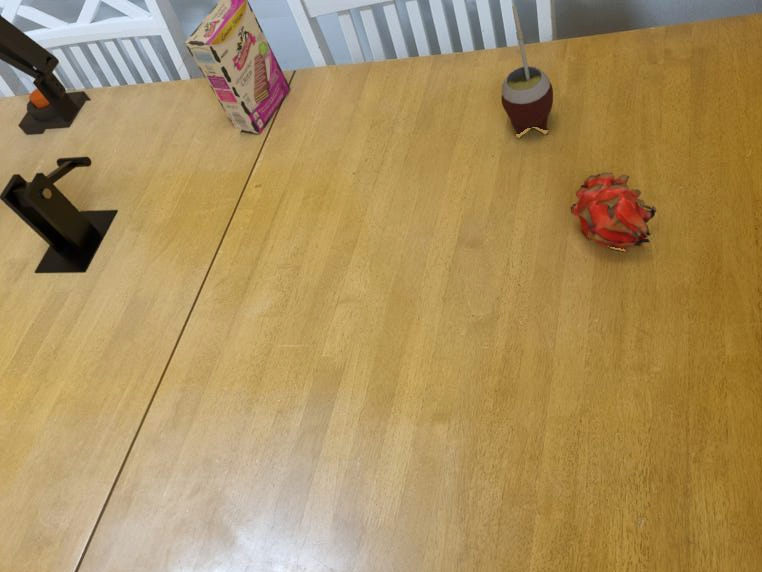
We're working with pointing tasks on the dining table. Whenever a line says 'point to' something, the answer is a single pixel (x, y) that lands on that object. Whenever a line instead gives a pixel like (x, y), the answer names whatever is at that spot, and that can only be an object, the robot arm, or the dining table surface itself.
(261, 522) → the dining table surface
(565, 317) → the dining table surface
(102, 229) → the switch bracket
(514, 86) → the mate gourd
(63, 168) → the switch lever
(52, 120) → the button box
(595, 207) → the dragon fruit
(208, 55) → the candy bar box
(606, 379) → the dining table surface
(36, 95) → the power button
